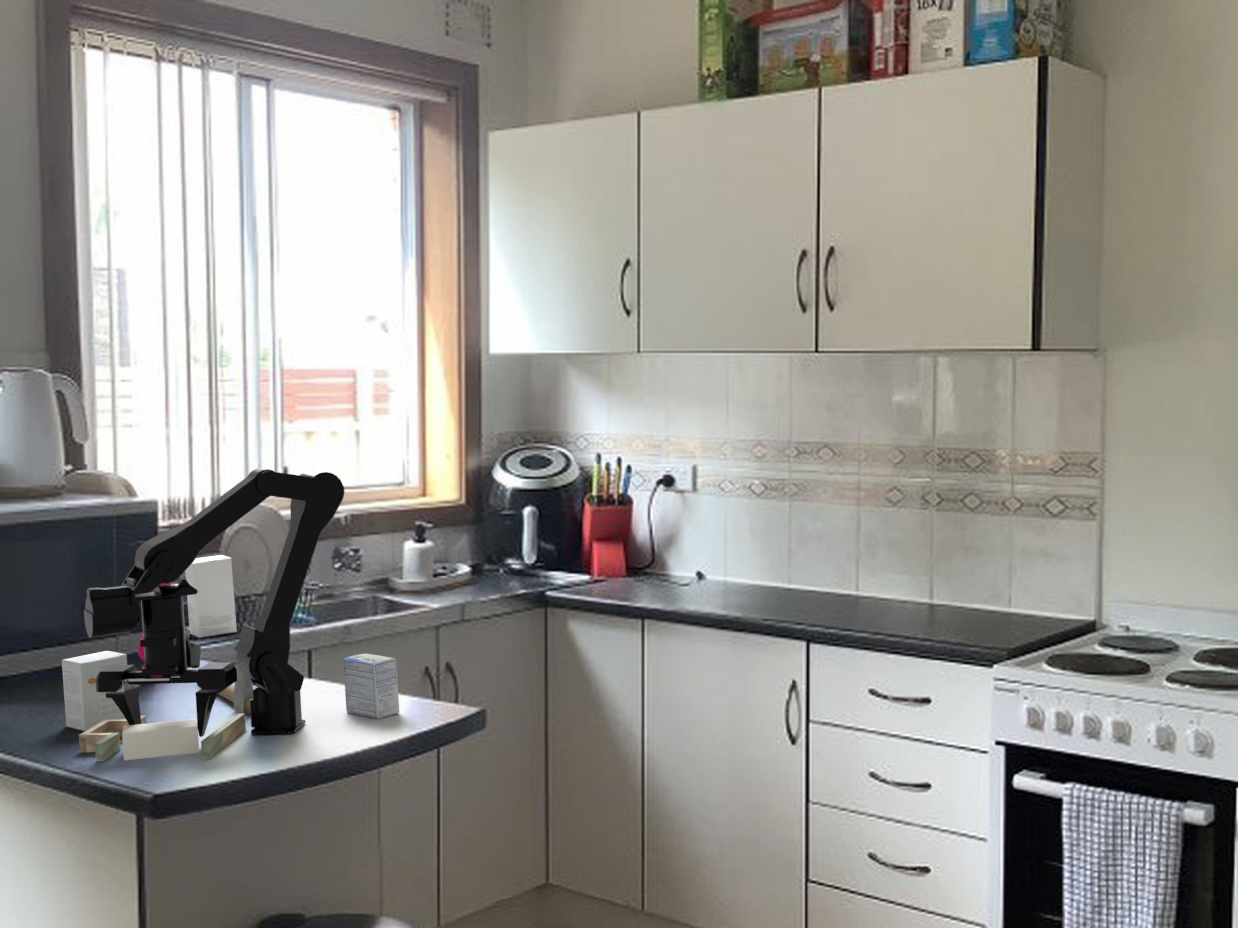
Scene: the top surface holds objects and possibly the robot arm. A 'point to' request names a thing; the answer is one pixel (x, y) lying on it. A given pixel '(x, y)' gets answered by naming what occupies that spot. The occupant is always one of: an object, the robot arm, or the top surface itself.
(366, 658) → the medicine box
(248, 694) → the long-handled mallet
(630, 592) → the top surface
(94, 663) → the small box
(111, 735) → the u-shaped wooden frame
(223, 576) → the skincare box
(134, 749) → the cream block
